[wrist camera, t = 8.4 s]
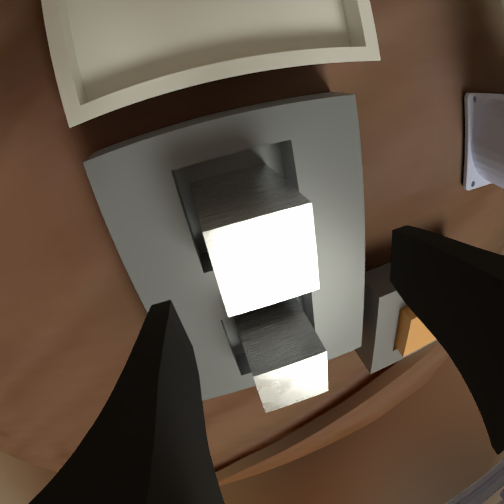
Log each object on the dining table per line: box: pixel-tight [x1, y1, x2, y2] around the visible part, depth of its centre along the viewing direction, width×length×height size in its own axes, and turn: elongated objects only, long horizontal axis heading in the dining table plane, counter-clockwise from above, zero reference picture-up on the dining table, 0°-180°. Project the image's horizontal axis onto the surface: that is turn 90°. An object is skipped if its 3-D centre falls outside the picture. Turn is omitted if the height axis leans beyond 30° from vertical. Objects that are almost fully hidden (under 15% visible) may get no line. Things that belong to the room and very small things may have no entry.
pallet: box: [83, 92, 365, 401], centre depth 19 cm, size 13×18×3 cm
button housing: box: [356, 262, 437, 374], centre depth 24 cm, size 9×9×3 cm
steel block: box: [191, 163, 319, 317], centre depth 15 cm, size 4×4×6 cm
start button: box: [394, 306, 436, 357], centre depth 23 cm, size 4×4×3 cm
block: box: [234, 297, 328, 413], centre depth 19 cm, size 4×4×6 cm
